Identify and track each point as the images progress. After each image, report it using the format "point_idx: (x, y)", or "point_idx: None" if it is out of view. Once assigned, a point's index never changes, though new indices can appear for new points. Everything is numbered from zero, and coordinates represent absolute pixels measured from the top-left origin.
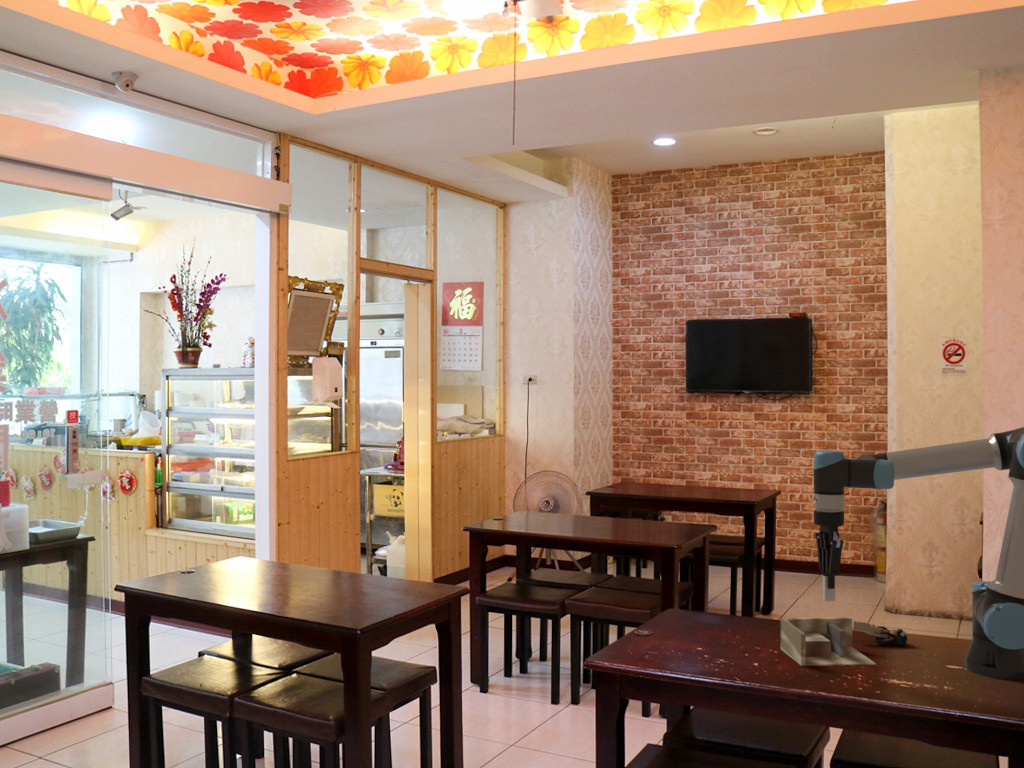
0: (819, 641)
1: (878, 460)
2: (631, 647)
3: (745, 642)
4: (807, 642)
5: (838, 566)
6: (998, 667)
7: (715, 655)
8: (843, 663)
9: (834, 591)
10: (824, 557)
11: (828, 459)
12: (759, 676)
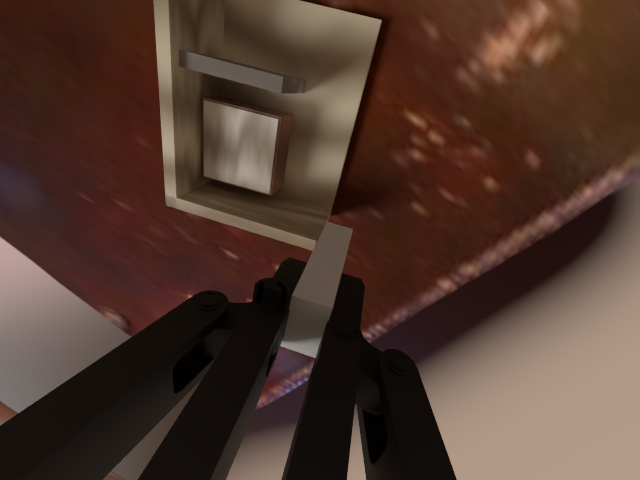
0: (274, 149)
1: None
2: None
3: (160, 213)
4: (273, 182)
5: (435, 449)
6: None
7: (230, 298)
8: (351, 120)
9: (345, 254)
10: (225, 477)
11: None
12: None
